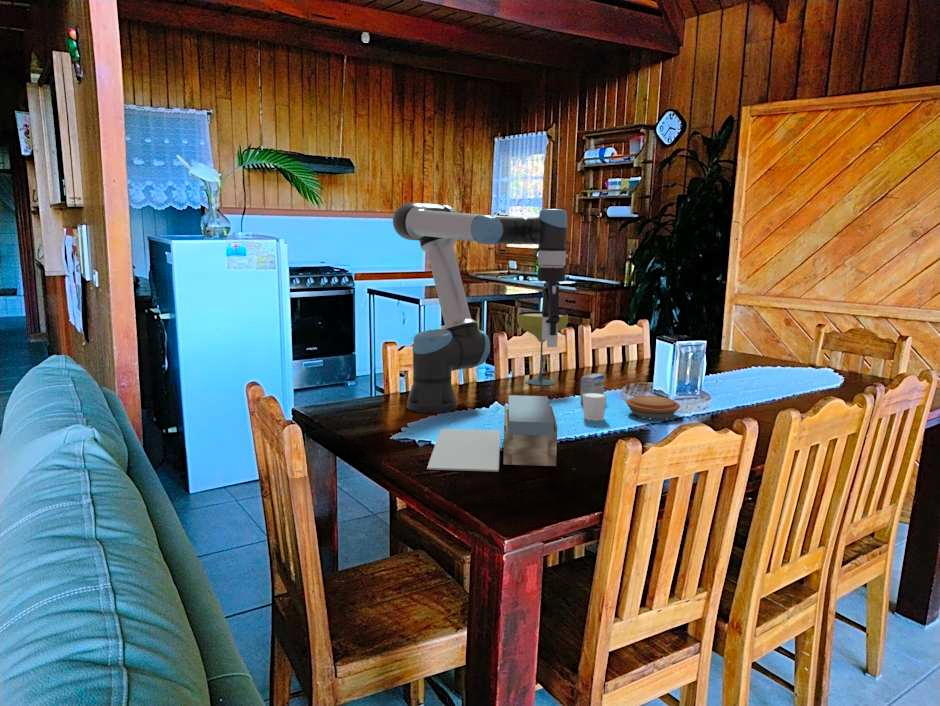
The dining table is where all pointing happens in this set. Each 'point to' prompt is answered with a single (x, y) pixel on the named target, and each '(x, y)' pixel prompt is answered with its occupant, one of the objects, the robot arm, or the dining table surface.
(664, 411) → the pie
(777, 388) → the dining table surface
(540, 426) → the pale grey block
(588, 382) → the medicine box
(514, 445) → the wooden box
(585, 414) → the white cup
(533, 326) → the cocktail glass
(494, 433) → the mat
